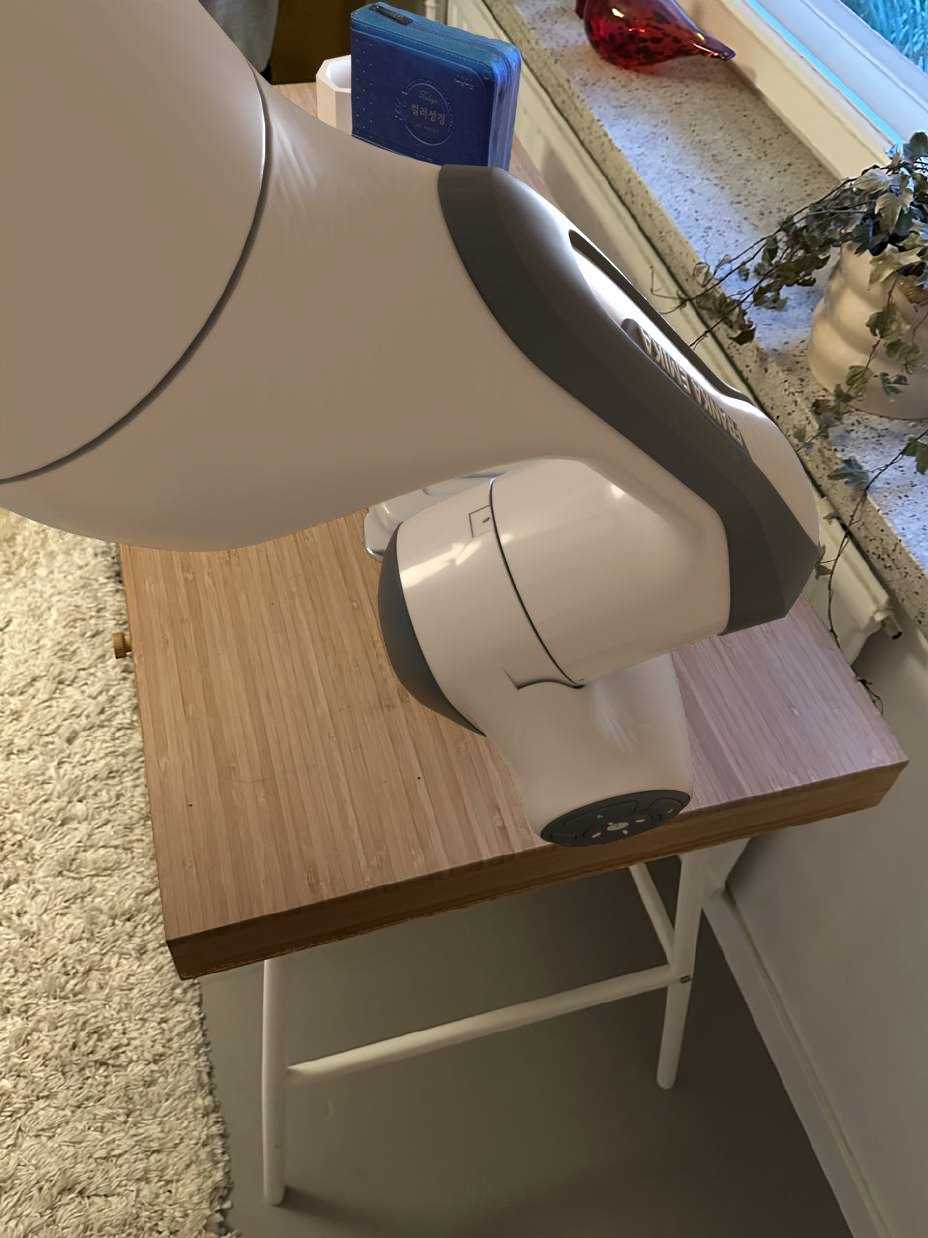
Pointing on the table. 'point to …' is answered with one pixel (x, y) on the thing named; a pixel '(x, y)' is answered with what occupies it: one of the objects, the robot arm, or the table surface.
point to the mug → (335, 93)
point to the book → (432, 89)
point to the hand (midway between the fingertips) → (519, 396)
